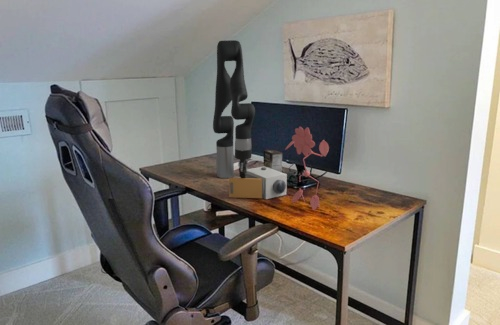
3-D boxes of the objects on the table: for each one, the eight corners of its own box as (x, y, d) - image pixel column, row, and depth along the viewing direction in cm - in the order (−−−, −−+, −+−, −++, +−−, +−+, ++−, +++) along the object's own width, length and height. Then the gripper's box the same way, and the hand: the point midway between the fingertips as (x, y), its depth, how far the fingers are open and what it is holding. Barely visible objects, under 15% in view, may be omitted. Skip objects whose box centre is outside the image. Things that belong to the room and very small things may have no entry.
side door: (228, 197, 175) (228, 178, 173) (229, 196, 177) (229, 177, 175) (264, 199, 173) (264, 179, 171) (264, 197, 175) (264, 178, 173)
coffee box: (262, 179, 205) (262, 150, 202) (273, 178, 208) (273, 149, 204) (271, 184, 198) (271, 153, 194) (282, 182, 200) (282, 152, 197)
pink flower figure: (293, 196, 178) (294, 121, 170) (335, 212, 158) (338, 128, 149) (267, 203, 170) (266, 125, 161) (308, 221, 149) (310, 133, 141)
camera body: (244, 189, 189) (244, 168, 186) (264, 185, 195) (264, 164, 193) (268, 200, 173) (268, 177, 170) (289, 195, 179) (289, 173, 177)
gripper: (236, 144, 180) (236, 179, 184) (233, 150, 167) (233, 188, 172) (252, 144, 179) (252, 180, 184) (250, 151, 167) (250, 189, 171)
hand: (243, 184), depth 178 cm, fingers closed
